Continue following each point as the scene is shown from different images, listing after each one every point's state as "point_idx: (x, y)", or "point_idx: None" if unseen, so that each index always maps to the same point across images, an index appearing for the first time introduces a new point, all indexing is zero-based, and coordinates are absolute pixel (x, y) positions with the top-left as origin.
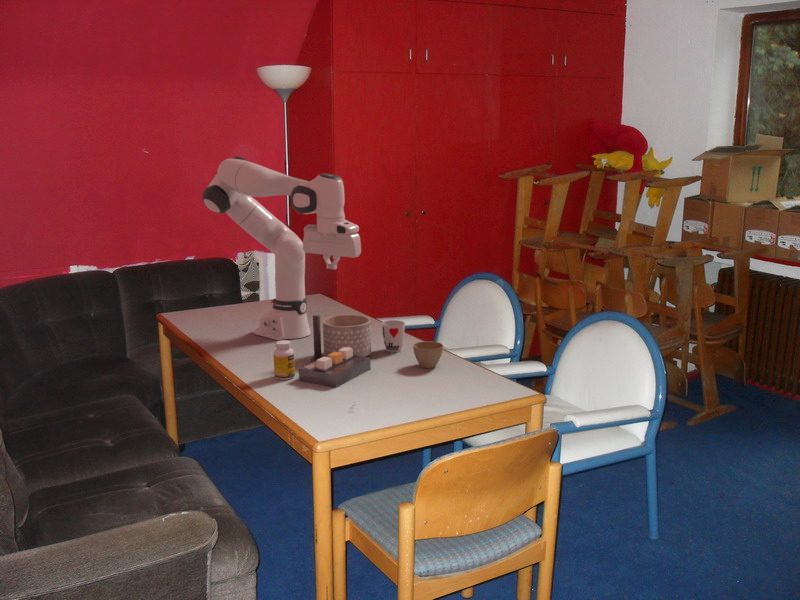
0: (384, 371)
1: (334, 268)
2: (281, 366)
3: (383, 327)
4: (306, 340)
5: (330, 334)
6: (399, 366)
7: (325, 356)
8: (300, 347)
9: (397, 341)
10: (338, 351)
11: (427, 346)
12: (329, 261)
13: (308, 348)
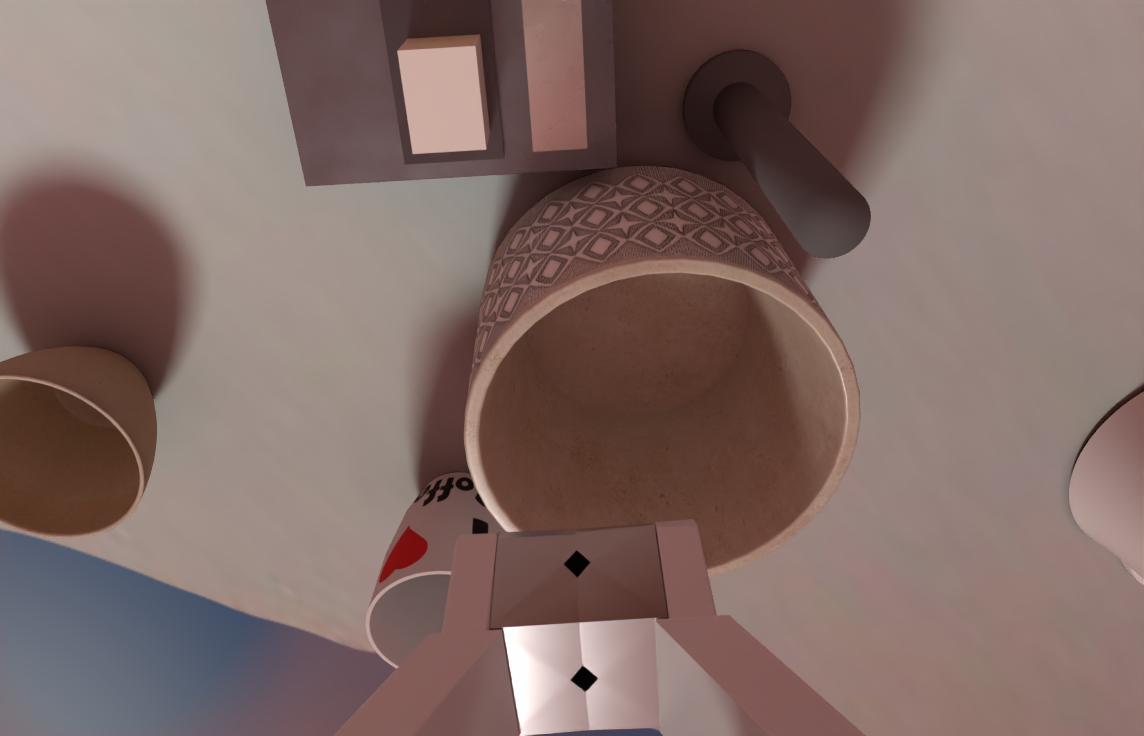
0: (224, 172)
1: (460, 556)
2: None
3: None
4: (1041, 415)
5: (683, 228)
6: (224, 298)
7: (606, 29)
8: (1011, 291)
9: (399, 526)
10: (472, 43)
11: (124, 498)
12: (685, 729)
13: (950, 300)
